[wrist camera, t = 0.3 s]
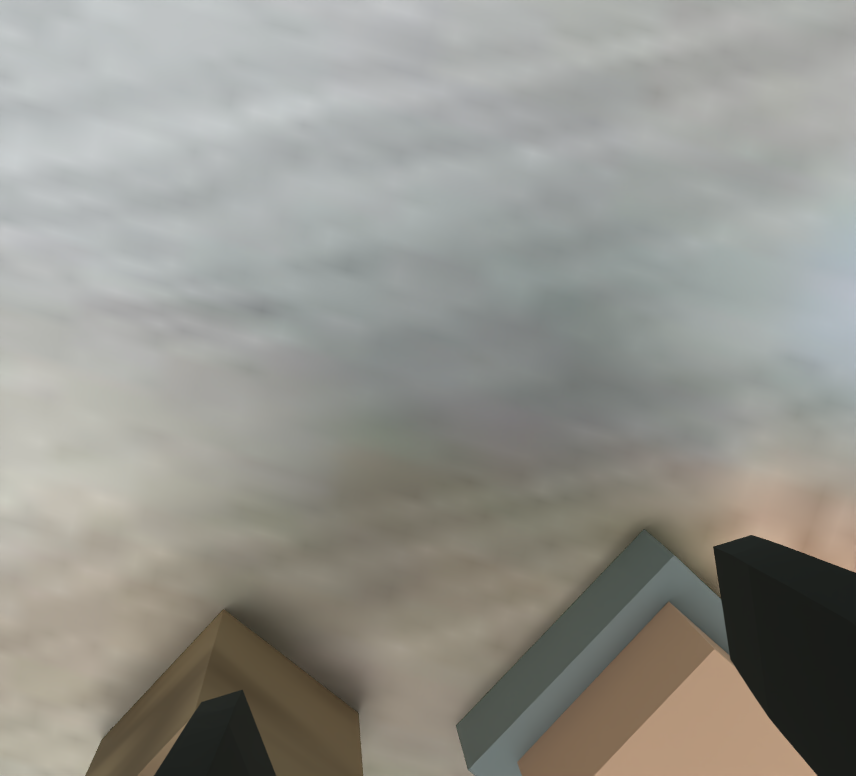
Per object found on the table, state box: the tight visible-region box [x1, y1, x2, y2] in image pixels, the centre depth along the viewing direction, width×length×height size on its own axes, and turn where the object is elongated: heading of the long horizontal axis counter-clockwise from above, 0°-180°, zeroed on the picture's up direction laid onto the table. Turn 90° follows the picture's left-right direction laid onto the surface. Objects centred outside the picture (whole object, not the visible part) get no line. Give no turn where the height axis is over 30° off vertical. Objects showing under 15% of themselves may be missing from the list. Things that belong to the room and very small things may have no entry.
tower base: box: [456, 529, 730, 776], centre depth 23 cm, size 8×8×2 cm
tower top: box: [517, 602, 817, 776], centre depth 20 cm, size 6×6×2 cm
